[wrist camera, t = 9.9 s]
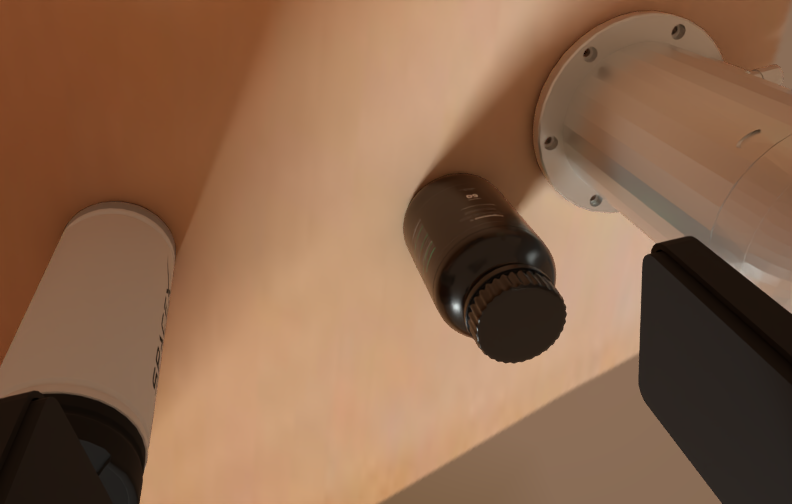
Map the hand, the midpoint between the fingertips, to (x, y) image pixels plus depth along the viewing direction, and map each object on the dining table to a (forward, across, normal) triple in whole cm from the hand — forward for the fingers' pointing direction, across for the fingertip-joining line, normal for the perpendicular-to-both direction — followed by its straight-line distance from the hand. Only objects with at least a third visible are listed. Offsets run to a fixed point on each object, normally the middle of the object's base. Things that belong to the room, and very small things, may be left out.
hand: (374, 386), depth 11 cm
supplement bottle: (+30, -8, +13) cm, 33 cm away
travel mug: (+29, +12, +10) cm, 33 cm away
